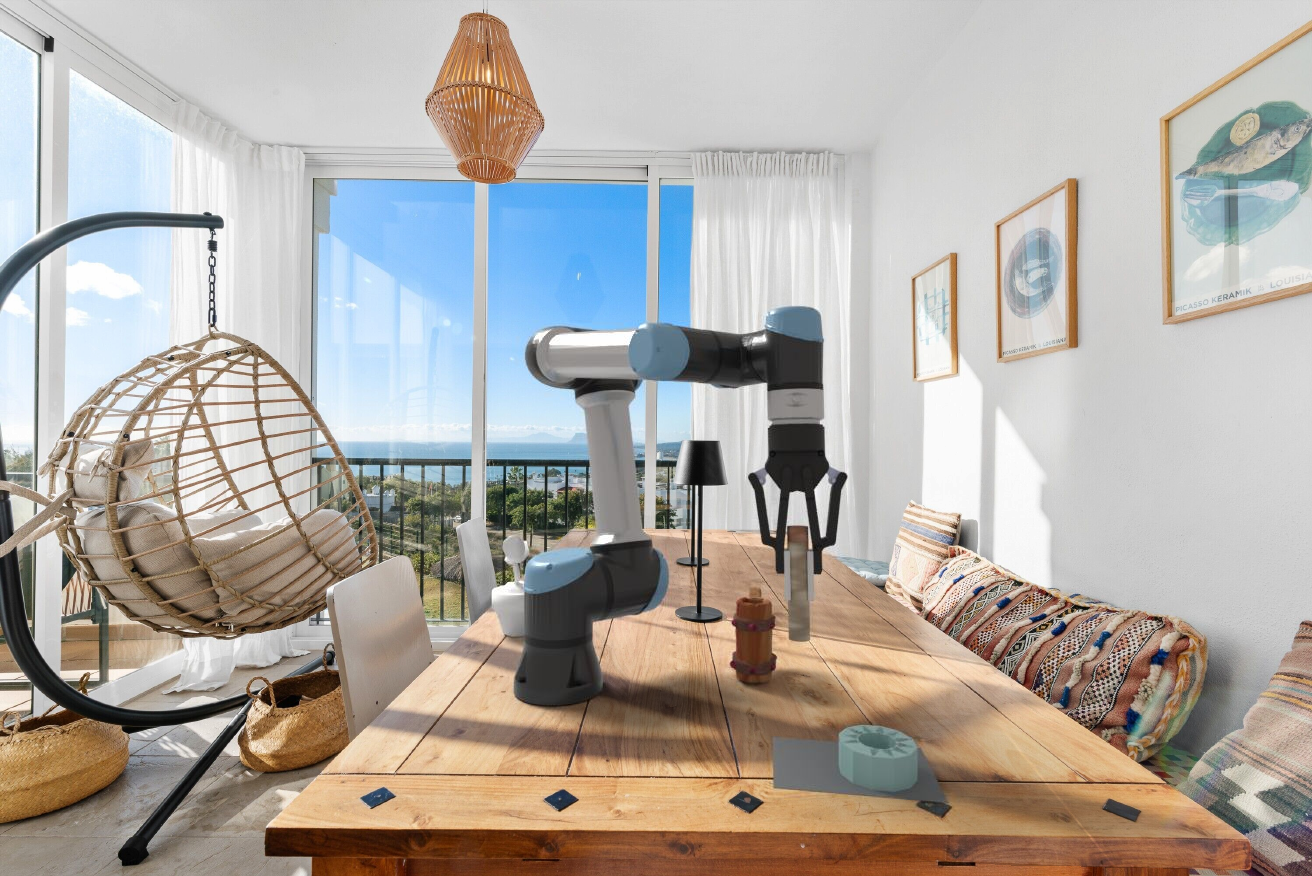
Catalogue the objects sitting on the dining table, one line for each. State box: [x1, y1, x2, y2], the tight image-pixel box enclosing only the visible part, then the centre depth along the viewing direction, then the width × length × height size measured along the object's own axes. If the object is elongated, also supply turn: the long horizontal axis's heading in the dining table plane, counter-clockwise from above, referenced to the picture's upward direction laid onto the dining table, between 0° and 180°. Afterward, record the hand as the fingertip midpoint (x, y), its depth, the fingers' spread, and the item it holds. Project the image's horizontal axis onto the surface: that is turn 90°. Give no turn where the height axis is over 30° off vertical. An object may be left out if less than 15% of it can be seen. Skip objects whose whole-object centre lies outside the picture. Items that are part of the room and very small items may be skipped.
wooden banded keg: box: [729, 586, 778, 685], centre depth 121 cm, size 15×8×15 cm, turn 168°
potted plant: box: [491, 525, 541, 638], centre depth 148 cm, size 13×12×25 cm
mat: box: [771, 736, 949, 804], centre depth 86 cm, size 20×14×1 cm
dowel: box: [786, 524, 811, 643], centre depth 89 cm, size 3×3×15 cm
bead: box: [838, 724, 919, 792], centre depth 84 cm, size 9×9×4 cm
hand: (799, 598), depth 89 cm, fingers closed on dowel, 2 cm apart
